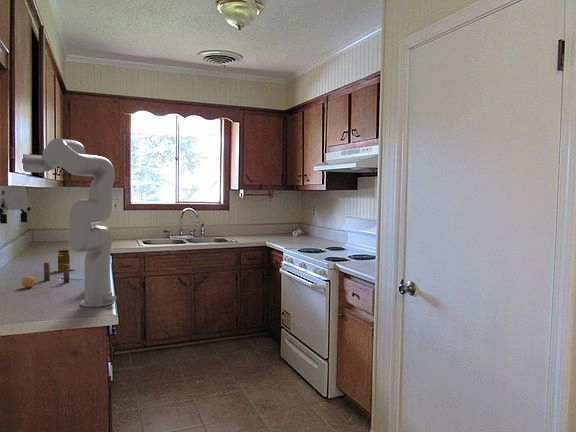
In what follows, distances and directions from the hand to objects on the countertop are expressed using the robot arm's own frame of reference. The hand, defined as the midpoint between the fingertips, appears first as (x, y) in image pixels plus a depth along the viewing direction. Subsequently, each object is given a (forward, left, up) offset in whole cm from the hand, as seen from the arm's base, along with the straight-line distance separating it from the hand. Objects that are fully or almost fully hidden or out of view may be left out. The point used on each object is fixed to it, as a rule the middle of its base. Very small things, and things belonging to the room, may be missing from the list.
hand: (13, 222), depth 192 cm
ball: (+5, -11, -28) cm, 31 cm away
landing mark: (+5, -41, -31) cm, 52 cm away
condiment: (+25, -52, -32) cm, 66 cm away
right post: (-1, -27, -31) cm, 41 cm away
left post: (+11, -27, -31) cm, 43 cm away
